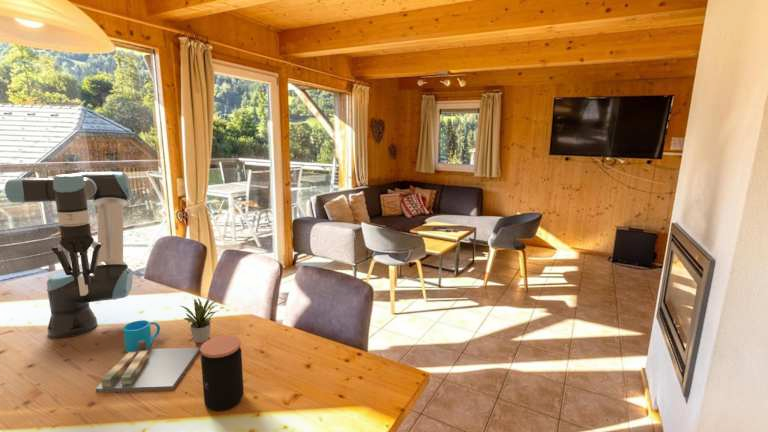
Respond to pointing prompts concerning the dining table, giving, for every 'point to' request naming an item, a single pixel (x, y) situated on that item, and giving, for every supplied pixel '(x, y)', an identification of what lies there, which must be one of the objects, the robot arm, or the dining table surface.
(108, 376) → the tongs base
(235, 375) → the coffee jar
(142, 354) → the bar
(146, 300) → the dining table surface
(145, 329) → the mug
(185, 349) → the board
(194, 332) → the house plant
